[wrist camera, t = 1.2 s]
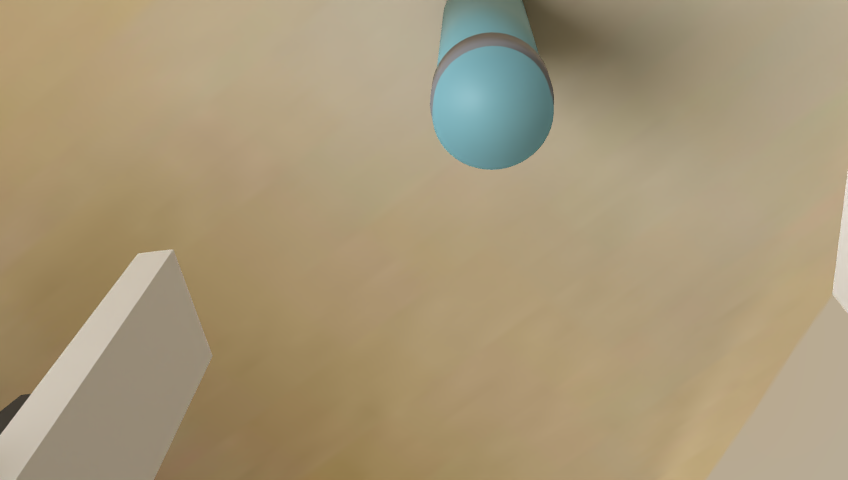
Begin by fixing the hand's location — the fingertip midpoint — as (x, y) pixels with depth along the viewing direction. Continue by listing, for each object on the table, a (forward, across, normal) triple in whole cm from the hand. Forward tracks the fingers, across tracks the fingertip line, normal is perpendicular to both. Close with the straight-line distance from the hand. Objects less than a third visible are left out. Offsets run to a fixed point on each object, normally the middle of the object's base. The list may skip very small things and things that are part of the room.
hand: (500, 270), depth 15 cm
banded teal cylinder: (+20, 0, 0) cm, 21 cm away
